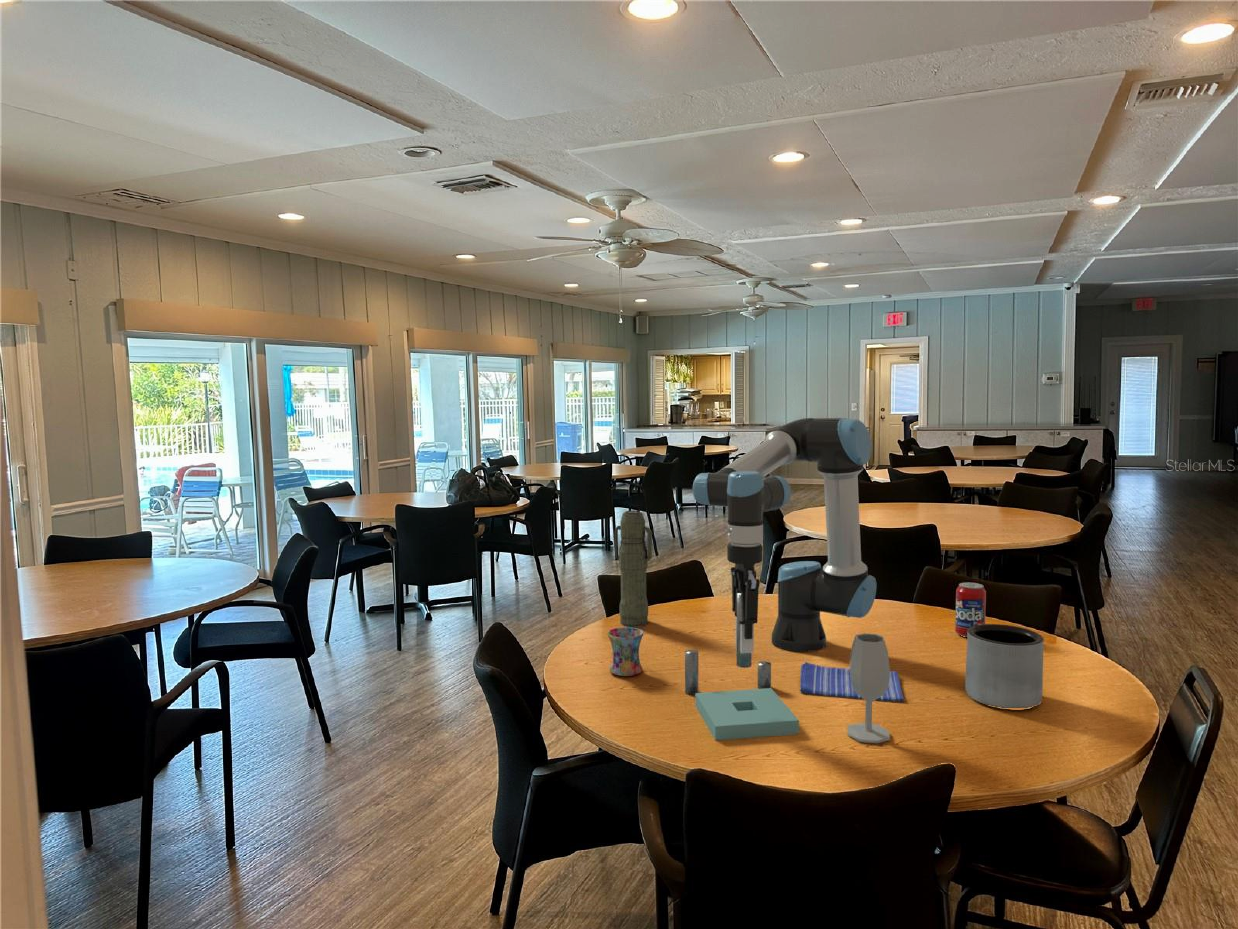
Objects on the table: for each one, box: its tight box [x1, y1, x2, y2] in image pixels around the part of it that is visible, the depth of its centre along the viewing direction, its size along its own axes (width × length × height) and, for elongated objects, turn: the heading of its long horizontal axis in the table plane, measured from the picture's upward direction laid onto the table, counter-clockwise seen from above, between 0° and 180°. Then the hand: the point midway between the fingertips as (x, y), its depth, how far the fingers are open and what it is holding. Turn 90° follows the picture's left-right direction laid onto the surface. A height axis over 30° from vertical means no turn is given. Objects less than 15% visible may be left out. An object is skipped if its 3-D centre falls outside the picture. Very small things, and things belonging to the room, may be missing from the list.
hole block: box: [694, 687, 800, 741], centre depth 172 cm, size 18×18×3 cm
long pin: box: [736, 592, 752, 669], centre depth 170 cm, size 3×3×16 cm
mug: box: [607, 626, 645, 677], centre depth 203 cm, size 12×9×11 cm
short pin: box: [757, 660, 772, 689], centre depth 190 cm, size 3×3×6 cm
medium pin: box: [684, 649, 700, 696], centre depth 188 cm, size 3×3×10 cm
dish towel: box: [799, 661, 905, 703], centre depth 191 cm, size 17×24×3 cm
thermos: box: [613, 510, 653, 628], centre depth 243 cm, size 9×12×35 cm
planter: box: [964, 623, 1045, 708], centre depth 181 cm, size 16×16×16 cm
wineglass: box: [847, 632, 891, 744], centre depth 162 cm, size 9×9×21 cm
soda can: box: [954, 581, 987, 638], centre depth 227 cm, size 8×8×15 cm
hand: (744, 649), depth 171 cm, fingers closed on long pin, 3 cm apart
